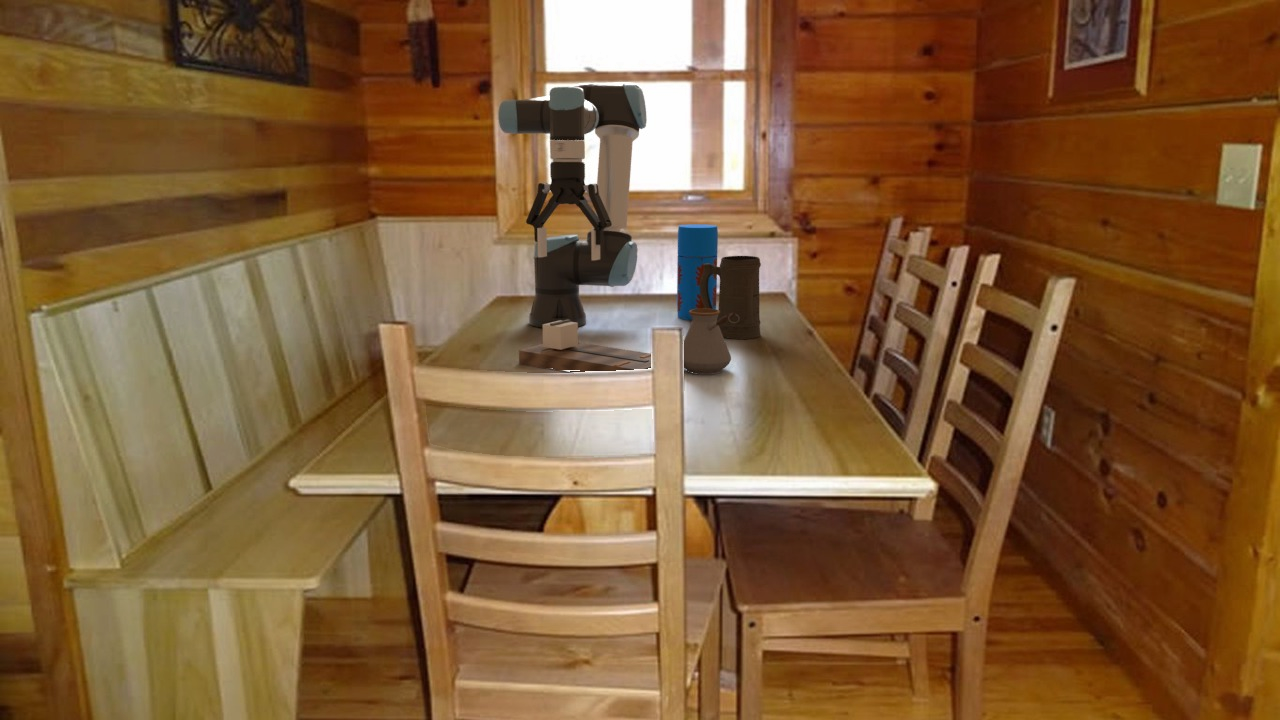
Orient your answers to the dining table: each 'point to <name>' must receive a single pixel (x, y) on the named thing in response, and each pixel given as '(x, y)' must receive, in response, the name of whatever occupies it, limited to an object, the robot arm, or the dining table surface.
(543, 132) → the robot arm
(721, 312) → the beer stein
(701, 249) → the thermos
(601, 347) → the fader panel
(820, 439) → the dining table surface
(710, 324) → the coffee pot
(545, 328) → the fader knob
